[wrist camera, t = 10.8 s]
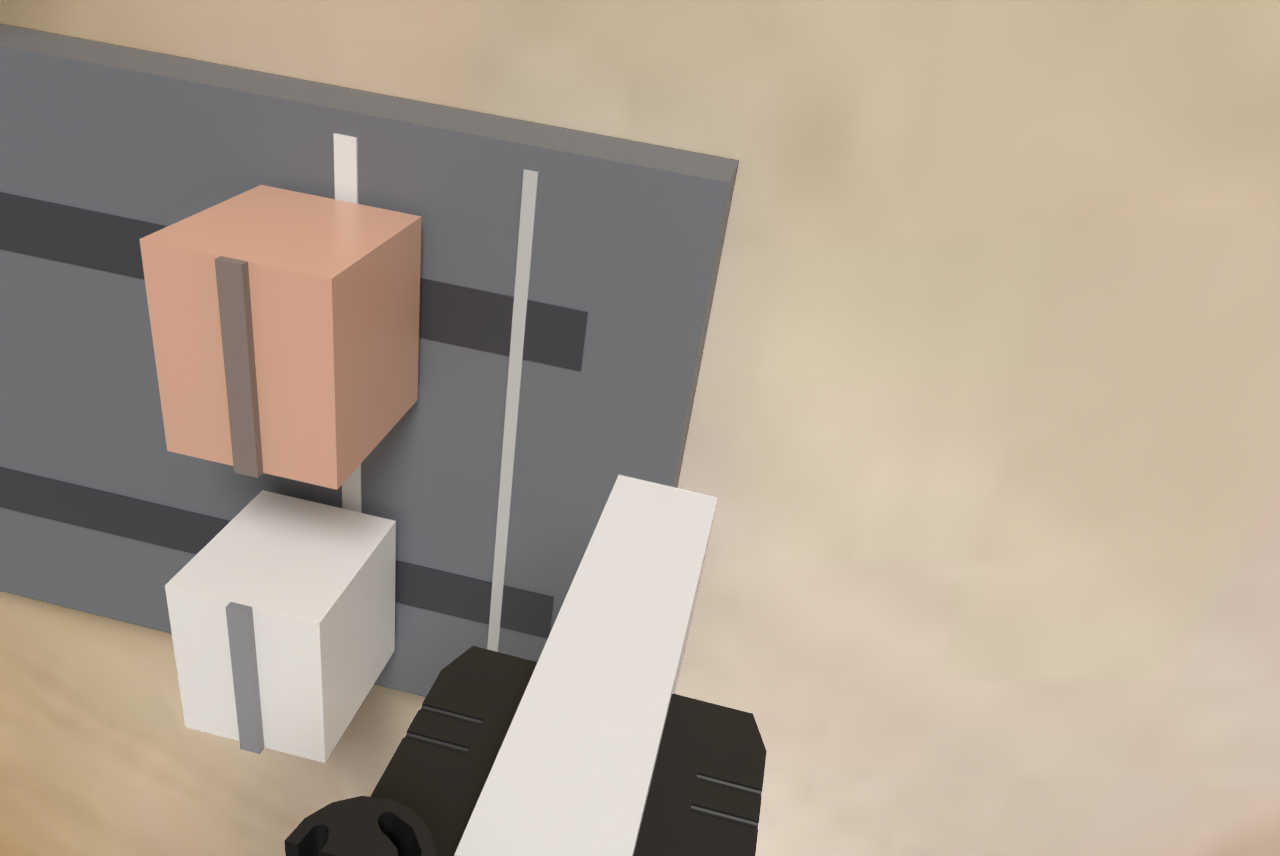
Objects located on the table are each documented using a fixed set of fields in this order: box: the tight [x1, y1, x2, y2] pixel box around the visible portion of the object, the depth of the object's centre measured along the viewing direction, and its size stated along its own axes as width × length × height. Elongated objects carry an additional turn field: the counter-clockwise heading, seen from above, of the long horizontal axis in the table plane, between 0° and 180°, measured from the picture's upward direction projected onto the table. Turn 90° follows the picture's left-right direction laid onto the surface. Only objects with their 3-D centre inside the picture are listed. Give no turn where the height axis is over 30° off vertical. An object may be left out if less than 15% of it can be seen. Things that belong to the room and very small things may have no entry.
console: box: [0, 24, 739, 697], centre depth 25 cm, size 32×16×2 cm, turn 81°
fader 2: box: [165, 490, 396, 763], centre depth 23 cm, size 4×4×4 cm
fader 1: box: [139, 185, 422, 490], centre depth 19 cm, size 4×4×4 cm
